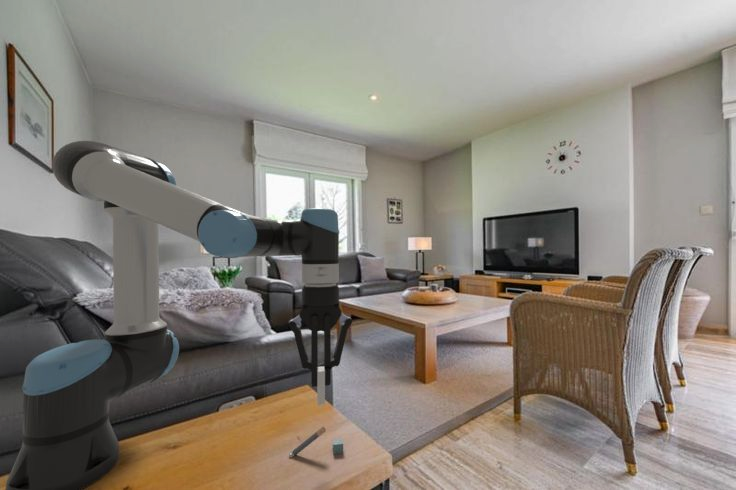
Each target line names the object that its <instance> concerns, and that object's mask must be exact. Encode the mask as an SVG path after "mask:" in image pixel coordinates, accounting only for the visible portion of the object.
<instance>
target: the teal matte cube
mask: <svg viewBox="0 0 736 490" xmlns="http://www.w3.org/2000/svg"><path fill="white" fill-rule="evenodd" d="M332 454H333V455H334V454H335V455H336V454H337V455H338V454H344V440H343V438H337V439H334V438H333V439H332Z"/></svg>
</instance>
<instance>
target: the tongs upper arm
mask: <svg viewBox="0 0 736 490" xmlns="http://www.w3.org/2000/svg"><path fill="white" fill-rule="evenodd" d="M325 433H326V428H325V427H324V426H322V427H320V428H319V429H318V430H317V431H316V432H315V433H313V434H312V435H311V436H310V437H308V438H306V439H305V441H303V442H302V443H301V444H300V445H298V446H297V447H296V448H294V450H292V451H290V452H289V455H288V458H289V459H291V458H294V457H295V456H297V455H298V454H299V453H300V452H302V451H303V450H304V449H306V447H308V446H309V445H310V444H312V443H313V442H314V441H315V440H317V439H318V438H319V437H321V436H322V435H323V434H325Z"/></svg>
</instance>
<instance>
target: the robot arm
mask: <svg viewBox="0 0 736 490" xmlns="http://www.w3.org/2000/svg"><path fill="white" fill-rule="evenodd" d="M51 166H52V168H51V169H52V172H53V175H54V177H55V178H56V180H57V181H58V182H59V184H60V185H62V186H63V187H64V188H65V189H66V190H69V191H70V192H72V193H74V194H76V195H79V196H81V197H83V198H85V199H88V200H89V201H90V200H91V201H96V202H102V201H103V211H104V212H105V213H106V214H107V215H108V216H110V217H111V218H112V256H113V257H112V269H113V270H112V272H113V273H112V275H113V279H112V280H113V291H112V292H113V323H112V324H111V326H110V327H109V328H108V329H106V331H105V332H104V339H101V338H100V339H99V338H98V339H86V340H81V341H78V342H71V343H67V344H64V345H61V346H58V347H55V348H52V349H49V350H47V351H45V352H43V353H40V354H39V355H37V356H36V357H34V358H33V359H32V360H31V361H30V362H29V363H28V365H27V366H26V369H25V373H24V378H23V383H22V387H21V388H22V389H21V390H22V392H23V405H22V406H23V412H22V413H23V415H22V443H21V447H20V450H19V452H18V455H17V457H16V459H15V461H14V464H13V466H12V468H11V471H10V473H9V475H8V478H7V480H6V483H5V490H83V489H84V488H86V487H88V486H90V485H92V484H94V483H95V482H97V481H98V480H100V479H101V478H103V477H104V476H106V475H107V474H108V473H109V472H110V471H111V470H112V469H113V468H114V467H115V466H116V465H117V463H118V461H119V459H120V442H119V441H118V438H117V436H116V434H115V432H114V429H113V427H112V424H111V422H110V402H111V401H113V400H114V399H116V398H120V397H122V396H124V395H125V394H128V393H130V392H132V391H134V390H137V389H138V388H139V389H140V388H141V387H143V386H145V385H148V384H151V383H153V382H155V381H157V380H158V379H159V378H161V377H164V376H165V375H166V374H168V373H169V372H170V371H171V370H172V369H173V367H174V366H175V364H176V363H177V360H178V357H179V353H180V346H179V345H180V344H179V340H178V338H177V337H174V336H175V334H174V332H173V331H172V330H170V329H168V323H167V322H166V321H164V319H162V318H161V317H160V272H159V271H160V270H159V269H160V262H159V261H160V260H159V259H160V257H159V255H160V253H159V252H160V251H159V250H160V249H159V225H161V226H163V227H165V228H167V229H170V230H172V231H174V232H177V233H179V234H181V235H183V236H186V237H188V238H190V239H193V240H194V241H196V242H197V241H198V242H199V243H200V245H201V246H202V247H203V249H204V251H206V253H208V254H210V255H212V256H215V257H219V258H221V257H223V258H226V259H227V258H228V259H236V258H243V257H244V258H245V257H246V258H249V257H262V258H263V257H266V258H267V257H286V256H287V257H289V256H290V257H291V256H293V257H294V256H295V257H297V256H298V257H299V256H301V283H302V284H304V285H303V286H302V287H301V309H300V310H299V314H298V315H297V316H296V317H294V318H291V319H290V320H288V327H289V328H290V330H291V331H292V333H293V335H294V338H295V342H296V346H297V350H298V355H299V358H300V359H299V360H300V363H301V367H302V368H303V369H305V370H306V369H307V370H310V371H311V372H310V373H311V385H312V388H313V387H314V388H315V387H316V389H317V390H316V392H317V394H316V395H317V396H316V398H317V399H316V402H317V406H321V405H322V406H323V405H326V386H330V385H331V384H332V383H331V381H332V380H331V377H332V376H331V375H332V374H331V371H332V369H333V368H334V367H338V366H339V365H340V363H341V359H342V354H343V350H344V347H345V341H346V337H347V333H348V329H349V328H350V326H351V325H352V323H353V319H352V318H351V316H349V315H348V316H347V315H345V314H344V313H343V312H342V309H341V306H340V287H339V285H337V284H338V283H339V282H340V274H339V273H340V272H339V271H340V269H339V267H340V265H339V263H340V261H339V259H340V257H339V256H340V255H339V253H340V252H339V251H340V247H339V246H340V245H339V244H340V241H339V240H340V239H339V238H340V235H339V234H340V230H339V229H340V228H339V217H338V213H337V212H336V211H335V210H334V209H331V208H325V207H323V208H322V207H313V208H311V207H310V208H305V209H303V210H302V211H301V216H300V219H289V220H288V219H287V220H286V219H281V220H278V219H272V218H266V217H261V216H255V215H251V214H248V213H245V212H242V211H239V210H237V209H235V208H232V207H230V206H227V205H225V204H221V203H219V202H217V201H215V200H212V199H209V198H207V197H204V196H202V195H200V194H198V193H195V192H192V191H190V190H188V189H184V188H182V187H180V186H178V185H177V183H176V182H177V181H176V178H175V177H174V176H175V175H174V174H173V173H172V172H171V170H170V169H169V168H168V167H167V166H166V165H165V164H163V163H160V162H159V161H156V160H154V159H152V158H150V157H147V156H141V155H139V154H137V153H133V152H131V151H130V152H129V151H126V150H124V149H121V148H118V147H115V146H112V145H109V144H106V143H103V142H99V141H93V140H79V141H73V142H70V143H67V144H65V145H63V146H61V148H59V149H58V150H57V151H56V153H55V154H54V156H53V158H52V162H51ZM301 321H302V322H303V323H304V325H305V326H306V327H307V328H308V330H309V331H311V334H310V335H311V338H310V339H311V340H310V341H311V343H310V344H311V351H310V352H311V355H310V356H311V360H310V359H309V357H308V354H307V350H306V346H305V341H304V338H303V334H302V329H301V327H302V322H301ZM338 321H339V325H340V326H339V331H338V335H337V341H336V344H335V347H334V348H335V349H334V353H333V357H331V356H332V355H331V354H332V353H331V348H332V346H331V335H332V334H331V330H332V329H333V328H334V327H335V325H336V324H337V322H338ZM320 331H322V332H323V357H324V358H323V365H324V366H318V363H319V362H318V361H319V360H318V357H319V356H318V351H319V350H318V349H319V347H318V338H319V337H318V336H319V335H318V332H320Z"/></svg>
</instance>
